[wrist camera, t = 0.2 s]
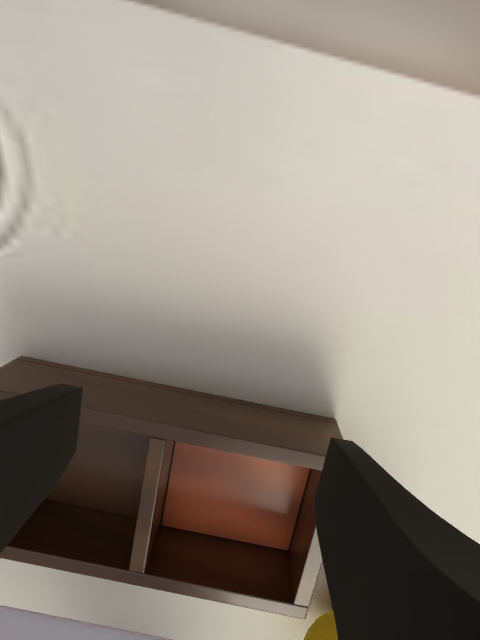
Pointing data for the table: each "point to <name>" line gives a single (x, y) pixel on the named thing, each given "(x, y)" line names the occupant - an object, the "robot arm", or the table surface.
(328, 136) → the table surface
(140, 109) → the table surface
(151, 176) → the table surface
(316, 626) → the lemon
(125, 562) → the caddy
